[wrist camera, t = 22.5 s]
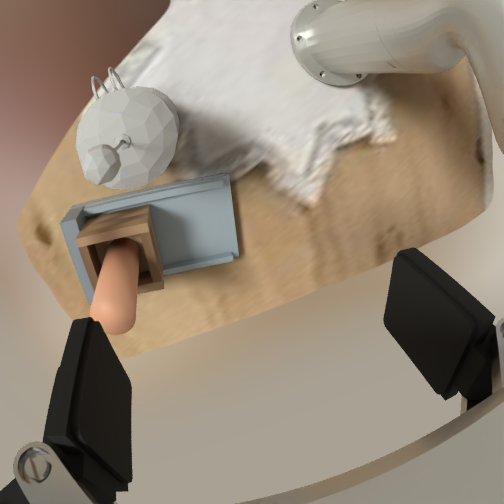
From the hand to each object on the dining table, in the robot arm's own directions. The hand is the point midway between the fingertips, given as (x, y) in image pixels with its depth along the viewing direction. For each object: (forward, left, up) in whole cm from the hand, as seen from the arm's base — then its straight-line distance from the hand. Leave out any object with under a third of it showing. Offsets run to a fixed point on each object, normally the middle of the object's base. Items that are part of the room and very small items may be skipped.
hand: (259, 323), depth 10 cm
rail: (+5, +9, -32) cm, 33 cm away
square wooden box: (+9, +9, -30) cm, 33 cm away
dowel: (+9, +9, -27) cm, 30 cm away
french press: (+5, -5, -32) cm, 33 cm away
